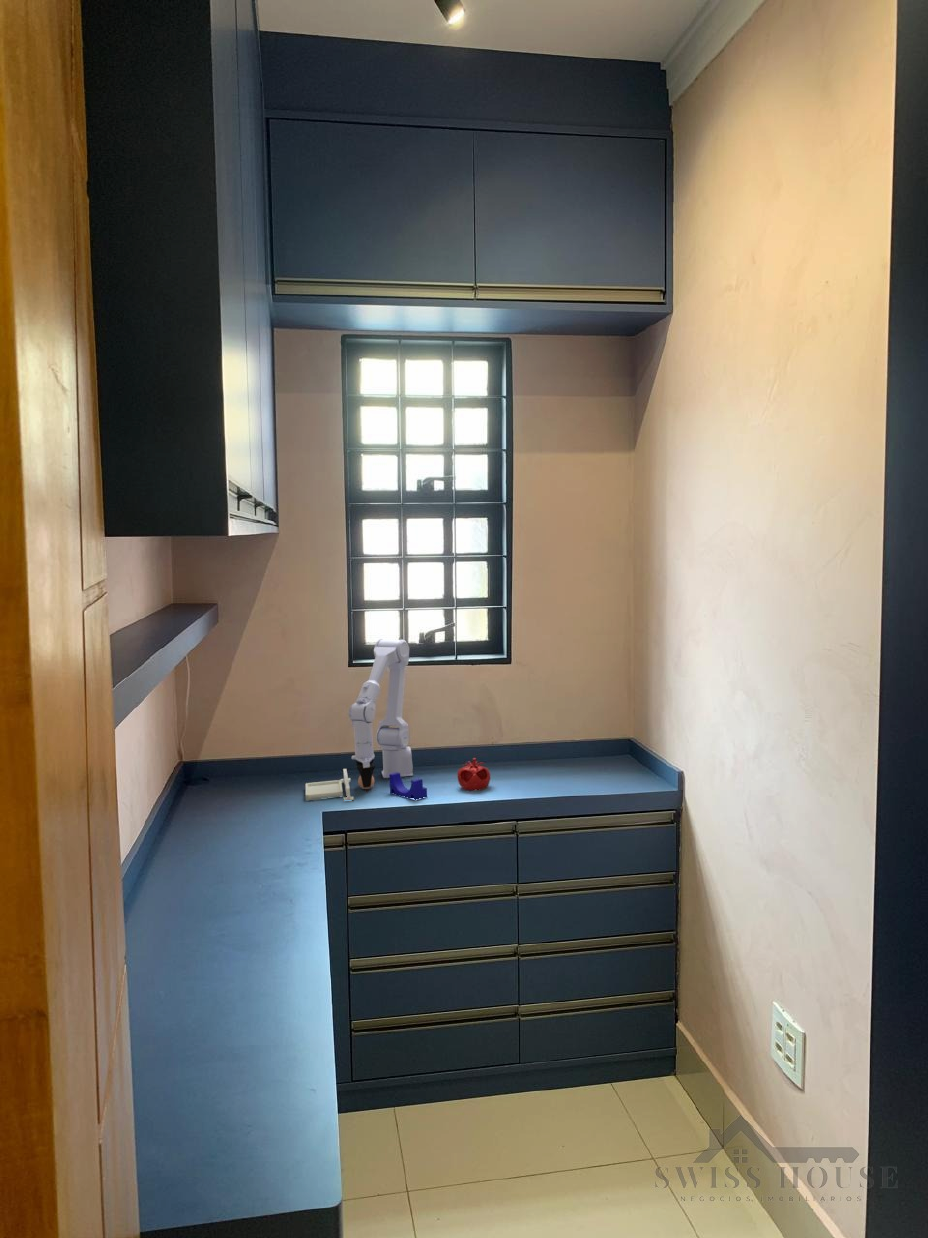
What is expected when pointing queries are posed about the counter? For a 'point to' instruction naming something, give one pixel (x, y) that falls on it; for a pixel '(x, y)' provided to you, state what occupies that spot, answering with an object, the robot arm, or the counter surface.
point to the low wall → (346, 785)
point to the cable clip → (400, 789)
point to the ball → (362, 784)
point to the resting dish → (323, 789)
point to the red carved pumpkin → (473, 776)
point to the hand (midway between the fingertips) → (366, 784)
